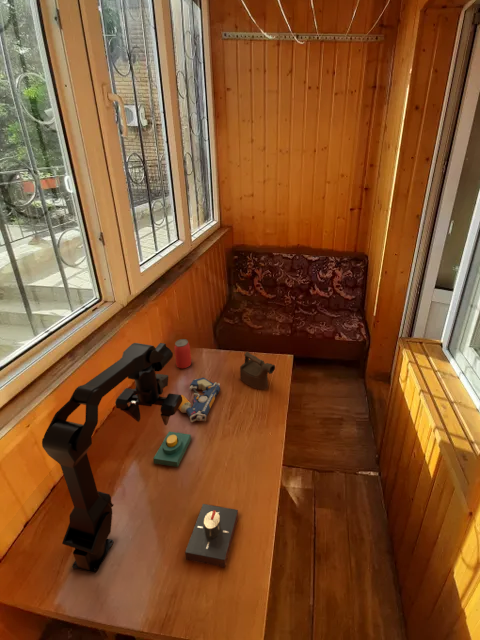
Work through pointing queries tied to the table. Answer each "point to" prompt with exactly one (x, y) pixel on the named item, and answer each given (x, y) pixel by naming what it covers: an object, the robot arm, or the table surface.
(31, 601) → the table surface
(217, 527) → the nozzle dial
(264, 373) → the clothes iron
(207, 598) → the table surface
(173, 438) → the cylinder
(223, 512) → the black flat block
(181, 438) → the green block
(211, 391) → the toy gun
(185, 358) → the beer can
